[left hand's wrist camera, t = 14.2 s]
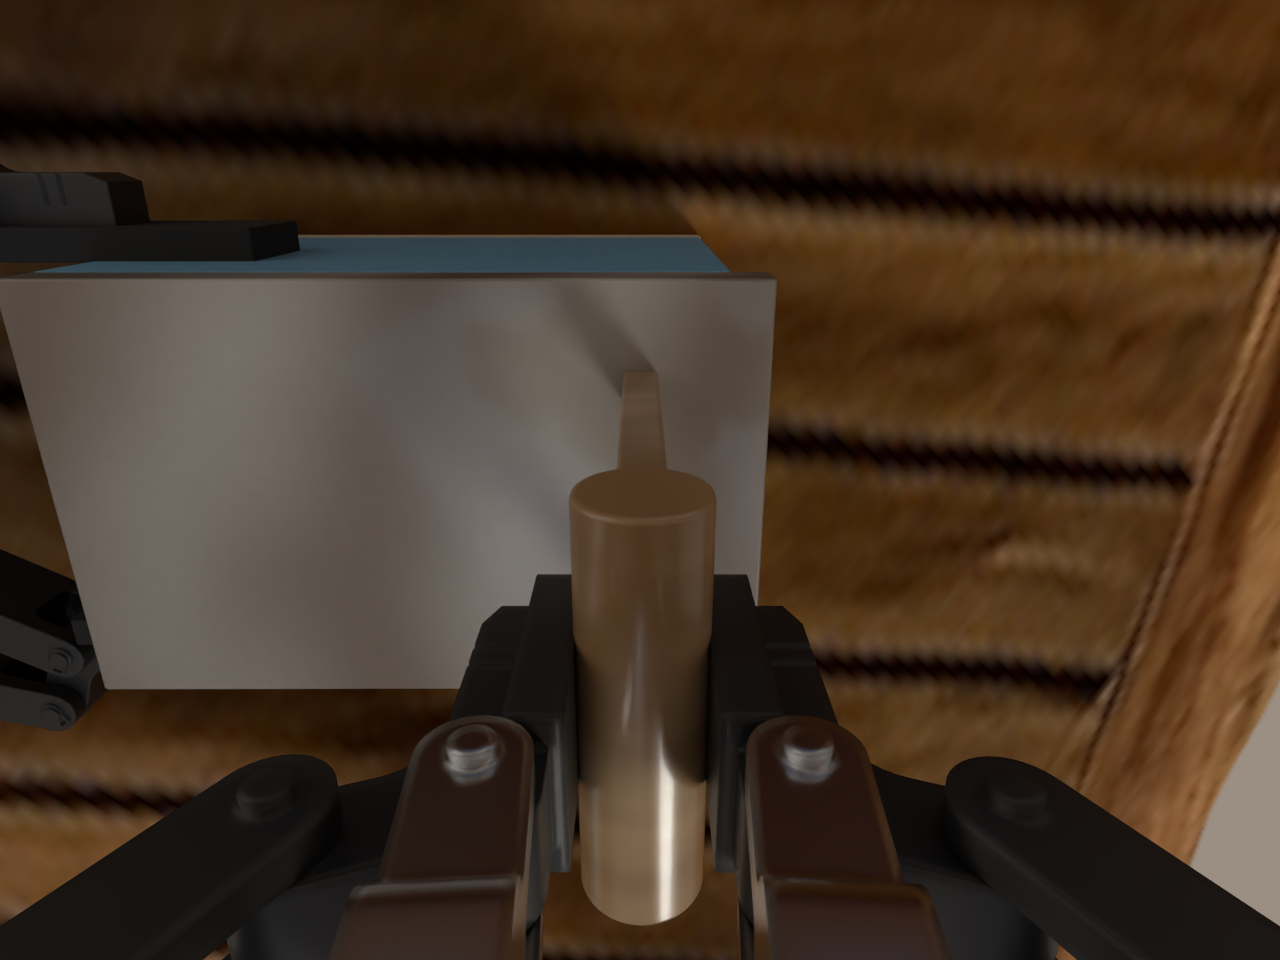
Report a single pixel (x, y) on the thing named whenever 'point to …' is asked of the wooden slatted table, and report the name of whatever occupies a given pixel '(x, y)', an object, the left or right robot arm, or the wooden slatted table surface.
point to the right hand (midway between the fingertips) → (306, 439)
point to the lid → (418, 495)
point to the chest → (457, 255)
